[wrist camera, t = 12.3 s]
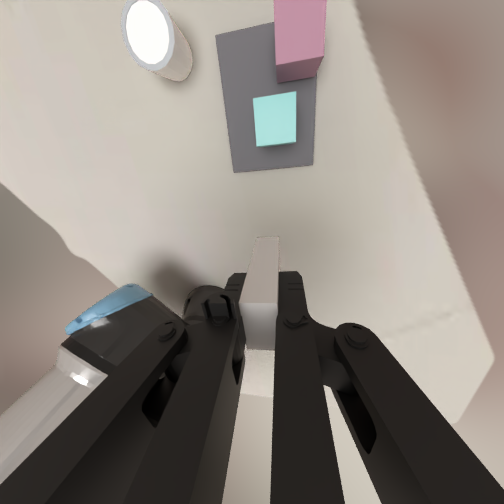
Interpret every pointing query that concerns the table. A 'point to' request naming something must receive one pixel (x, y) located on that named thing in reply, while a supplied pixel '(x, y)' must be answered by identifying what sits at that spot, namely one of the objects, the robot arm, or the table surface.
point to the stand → (273, 81)
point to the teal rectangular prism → (275, 119)
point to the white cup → (155, 39)
